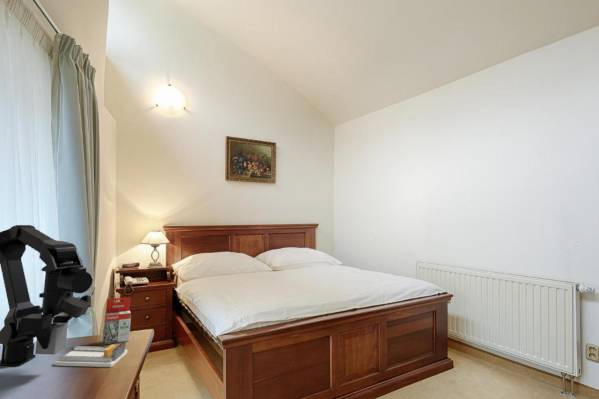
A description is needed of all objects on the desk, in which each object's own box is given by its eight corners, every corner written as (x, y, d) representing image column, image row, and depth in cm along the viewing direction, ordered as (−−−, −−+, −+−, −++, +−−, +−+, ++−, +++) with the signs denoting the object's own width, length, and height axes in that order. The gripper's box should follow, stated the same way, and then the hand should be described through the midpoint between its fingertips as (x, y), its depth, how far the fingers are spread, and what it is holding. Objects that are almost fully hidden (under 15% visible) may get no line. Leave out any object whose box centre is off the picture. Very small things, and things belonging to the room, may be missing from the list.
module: (35, 354, 87) (37, 327, 87) (47, 347, 92) (49, 322, 92) (54, 354, 87) (56, 328, 88) (65, 347, 92) (67, 322, 92)
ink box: (129, 341, 113) (132, 299, 114) (102, 345, 109) (106, 301, 110) (128, 337, 116) (131, 296, 117) (102, 341, 112) (106, 298, 113)
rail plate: (54, 365, 93) (55, 351, 93) (76, 351, 103) (77, 338, 103) (111, 367, 94) (112, 353, 94) (127, 352, 104) (128, 340, 104)
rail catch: (103, 358, 97) (104, 350, 97) (111, 352, 101) (111, 344, 101) (107, 358, 97) (108, 350, 97) (114, 352, 101) (115, 344, 101)
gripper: (64, 297, 82) (58, 360, 81) (104, 282, 100) (99, 333, 99) (18, 296, 81) (11, 359, 80) (67, 281, 100) (62, 332, 99)
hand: (51, 345), depth 90 cm, fingers closed on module, 4 cm apart
